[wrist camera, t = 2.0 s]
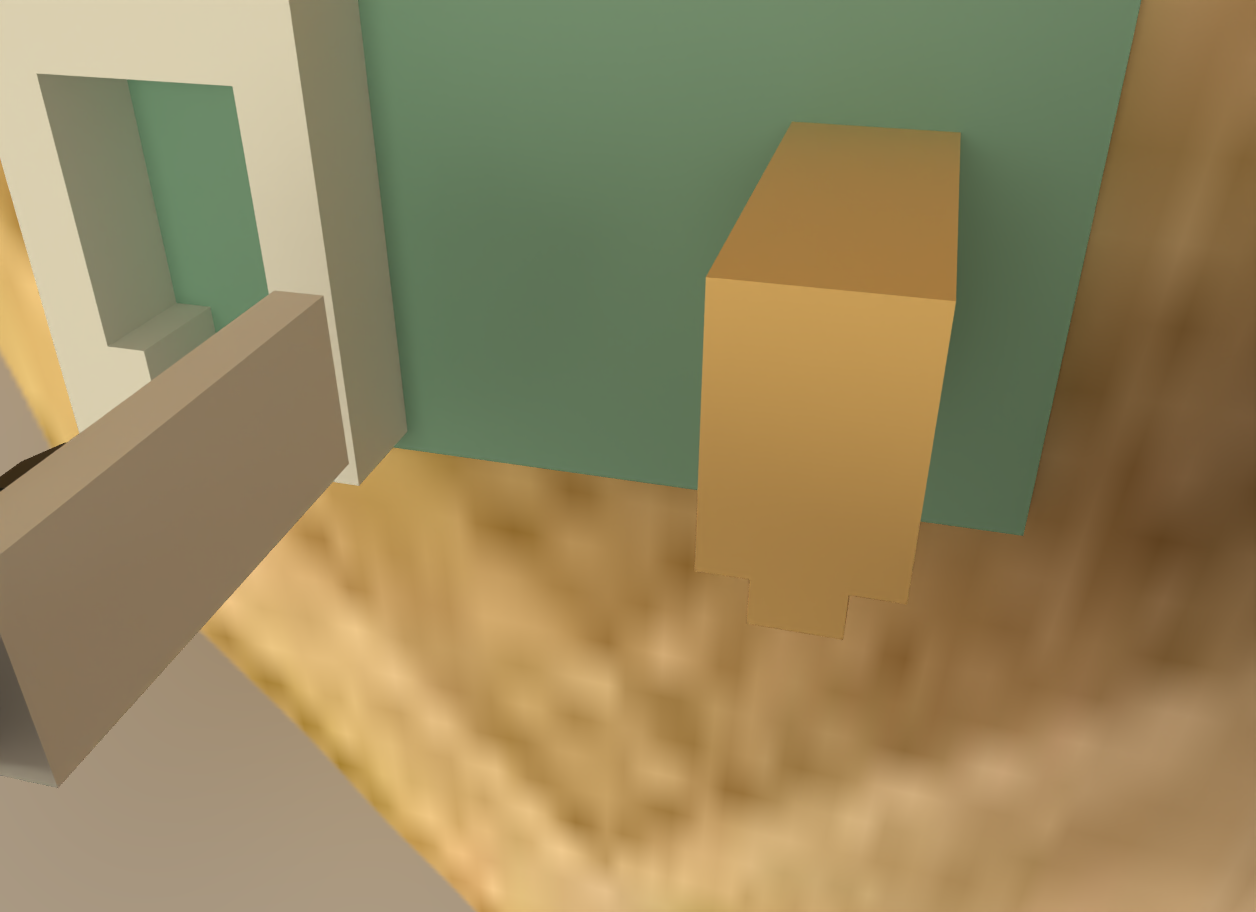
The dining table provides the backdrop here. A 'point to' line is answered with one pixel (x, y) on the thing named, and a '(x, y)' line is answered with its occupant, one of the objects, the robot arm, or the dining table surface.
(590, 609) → the dining table surface
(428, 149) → the board
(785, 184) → the plug
